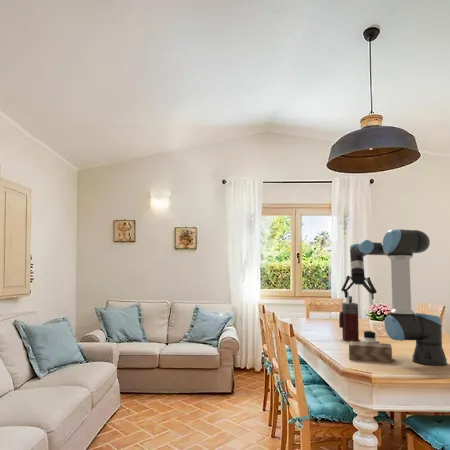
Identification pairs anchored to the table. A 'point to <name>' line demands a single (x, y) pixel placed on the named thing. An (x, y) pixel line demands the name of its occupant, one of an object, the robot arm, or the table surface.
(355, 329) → the dark red tall piece
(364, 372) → the table surface
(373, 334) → the medicine bottle
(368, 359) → the walnut box
